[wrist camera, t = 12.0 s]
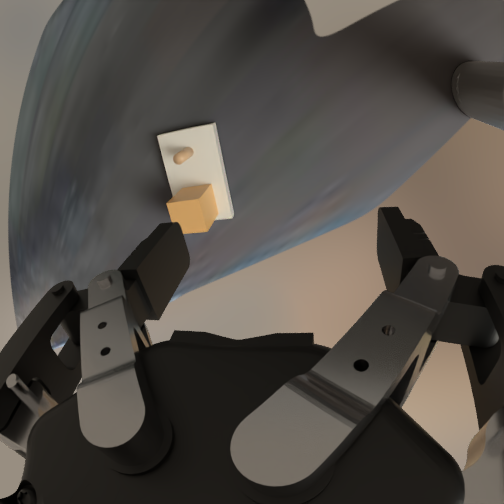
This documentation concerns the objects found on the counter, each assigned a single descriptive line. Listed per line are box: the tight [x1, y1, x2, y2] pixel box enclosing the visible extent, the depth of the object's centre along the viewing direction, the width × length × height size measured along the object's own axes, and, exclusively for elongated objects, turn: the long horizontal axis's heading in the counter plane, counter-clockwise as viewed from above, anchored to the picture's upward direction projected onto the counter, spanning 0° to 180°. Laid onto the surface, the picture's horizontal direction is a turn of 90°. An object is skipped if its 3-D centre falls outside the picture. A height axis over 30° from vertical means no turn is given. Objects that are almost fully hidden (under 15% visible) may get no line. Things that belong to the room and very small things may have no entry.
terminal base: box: [157, 123, 234, 220], centre depth 44 cm, size 9×15×6 cm, turn 10°
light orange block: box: [166, 184, 219, 234], centre depth 45 cm, size 5×5×6 cm
